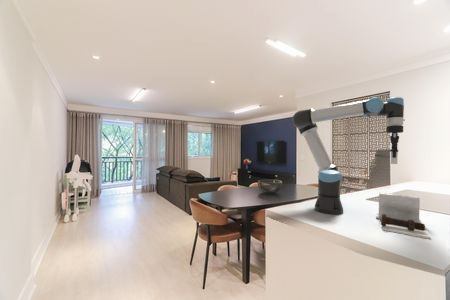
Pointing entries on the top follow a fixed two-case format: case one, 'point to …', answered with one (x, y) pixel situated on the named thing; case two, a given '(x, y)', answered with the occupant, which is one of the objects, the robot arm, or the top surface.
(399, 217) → the block
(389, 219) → the bolt
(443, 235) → the top surface
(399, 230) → the mat
